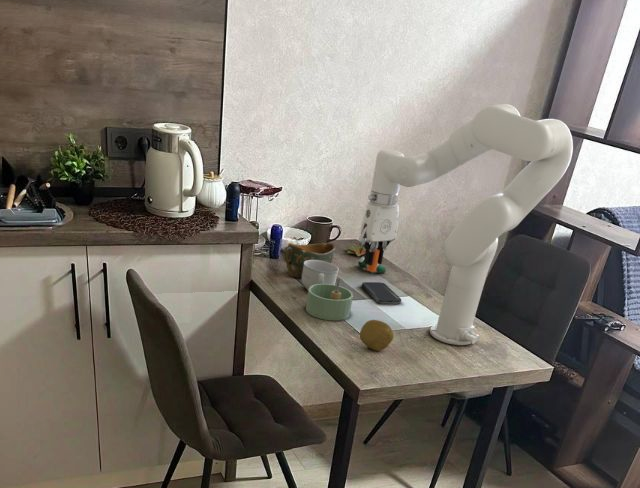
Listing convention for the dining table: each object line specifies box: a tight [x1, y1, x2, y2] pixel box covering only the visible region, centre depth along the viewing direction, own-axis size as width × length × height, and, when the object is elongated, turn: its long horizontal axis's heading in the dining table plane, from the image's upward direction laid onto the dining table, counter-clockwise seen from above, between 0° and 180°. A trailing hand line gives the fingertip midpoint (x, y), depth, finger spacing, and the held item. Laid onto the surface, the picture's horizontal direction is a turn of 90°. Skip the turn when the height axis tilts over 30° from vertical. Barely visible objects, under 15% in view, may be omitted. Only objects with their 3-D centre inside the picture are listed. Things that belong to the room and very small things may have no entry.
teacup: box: [301, 260, 340, 291], centre depth 219 cm, size 14×11×8 cm
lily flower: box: [346, 243, 366, 257], centre depth 257 cm, size 12×12×5 cm
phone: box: [361, 281, 402, 305], centre depth 225 cm, size 8×1×15 cm
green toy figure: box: [357, 256, 387, 274], centre depth 243 cm, size 9×4×6 cm
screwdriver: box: [366, 242, 380, 273], centre depth 209 cm, size 3×3×10 cm
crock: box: [305, 284, 354, 322], centre depth 208 cm, size 13×13×6 cm
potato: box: [359, 319, 394, 352], centre depth 189 cm, size 7×8×8 cm
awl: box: [331, 277, 341, 300], centre depth 204 cm, size 3×3×10 cm
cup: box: [281, 242, 336, 279], centre depth 232 cm, size 13×20×10 cm, turn 105°
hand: (372, 262), depth 211 cm, fingers closed on screwdriver, 2 cm apart
